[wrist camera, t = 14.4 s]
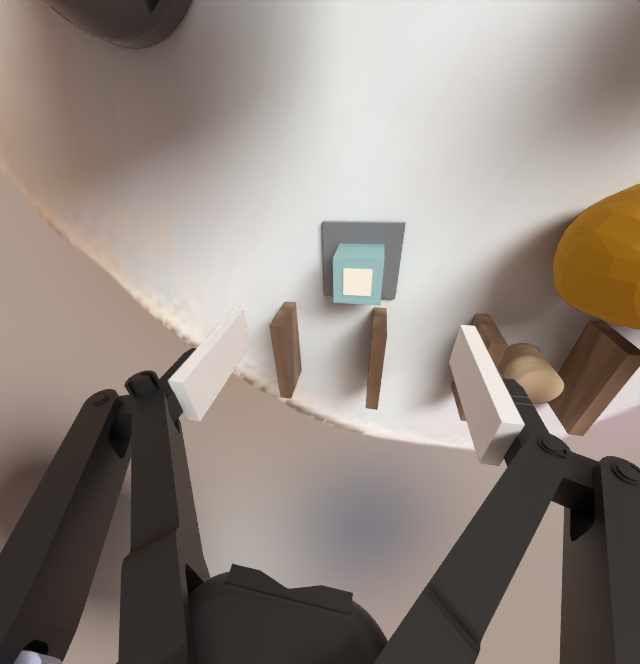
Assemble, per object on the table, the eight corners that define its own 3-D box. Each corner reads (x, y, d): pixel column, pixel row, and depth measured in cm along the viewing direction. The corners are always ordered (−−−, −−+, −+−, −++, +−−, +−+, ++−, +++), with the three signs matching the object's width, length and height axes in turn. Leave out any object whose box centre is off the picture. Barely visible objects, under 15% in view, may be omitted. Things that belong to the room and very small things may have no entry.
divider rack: (292, 369, 40) (280, 397, 35) (284, 301, 34) (269, 325, 29) (556, 398, 34) (582, 435, 29) (605, 322, 28) (647, 356, 23)
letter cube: (339, 243, 28) (332, 258, 24) (384, 244, 27) (384, 259, 23) (339, 284, 31) (333, 303, 27) (380, 285, 30) (380, 305, 26)
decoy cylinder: (491, 370, 34) (506, 401, 30) (503, 341, 31) (521, 370, 27) (531, 374, 33) (552, 406, 29) (547, 344, 30) (572, 375, 26)
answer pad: (324, 293, 32) (323, 294, 32) (323, 221, 28) (322, 222, 27) (394, 297, 31) (394, 299, 30) (405, 221, 26) (405, 223, 26)
